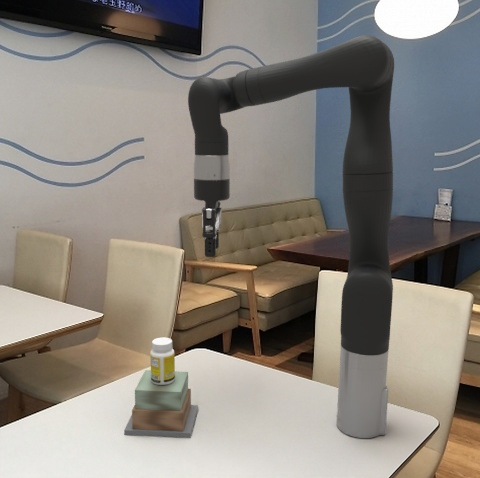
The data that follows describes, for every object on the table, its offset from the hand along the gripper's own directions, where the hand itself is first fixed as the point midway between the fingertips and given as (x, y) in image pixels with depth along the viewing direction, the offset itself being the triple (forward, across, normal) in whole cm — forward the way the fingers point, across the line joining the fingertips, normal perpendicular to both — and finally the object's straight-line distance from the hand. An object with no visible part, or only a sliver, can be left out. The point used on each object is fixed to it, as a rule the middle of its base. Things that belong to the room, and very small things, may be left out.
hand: (212, 252), depth 117 cm
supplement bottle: (+24, -13, +9) cm, 29 cm away
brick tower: (+33, -13, +9) cm, 36 cm away
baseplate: (+33, -13, +9) cm, 36 cm away
